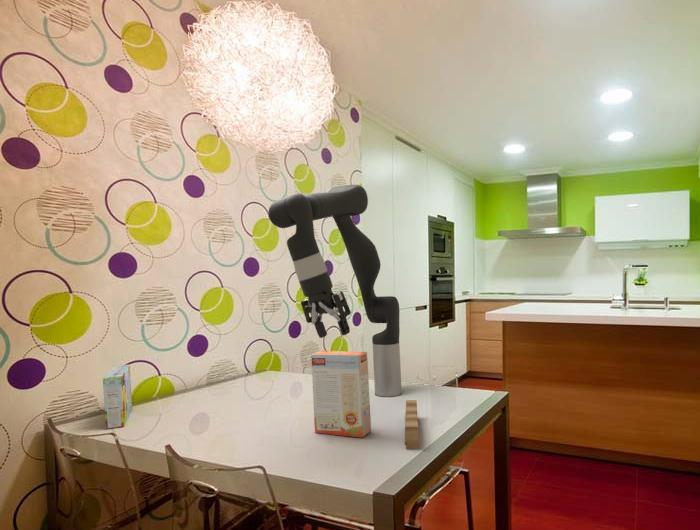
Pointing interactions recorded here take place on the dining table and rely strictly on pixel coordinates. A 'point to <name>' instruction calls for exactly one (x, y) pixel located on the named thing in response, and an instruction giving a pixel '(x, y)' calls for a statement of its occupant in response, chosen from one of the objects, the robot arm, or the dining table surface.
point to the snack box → (117, 396)
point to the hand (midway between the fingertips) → (334, 335)
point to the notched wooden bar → (411, 425)
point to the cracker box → (341, 393)
